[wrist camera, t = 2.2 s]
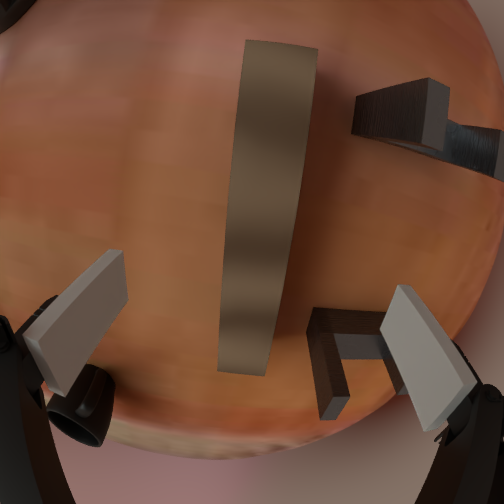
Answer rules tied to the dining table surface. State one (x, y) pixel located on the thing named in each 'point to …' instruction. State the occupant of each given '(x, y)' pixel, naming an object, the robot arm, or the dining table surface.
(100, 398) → the mug
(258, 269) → the rail
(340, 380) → the bracket
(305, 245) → the dining table surface
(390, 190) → the dining table surface
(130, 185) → the dining table surface
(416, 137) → the bracket
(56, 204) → the dining table surface
